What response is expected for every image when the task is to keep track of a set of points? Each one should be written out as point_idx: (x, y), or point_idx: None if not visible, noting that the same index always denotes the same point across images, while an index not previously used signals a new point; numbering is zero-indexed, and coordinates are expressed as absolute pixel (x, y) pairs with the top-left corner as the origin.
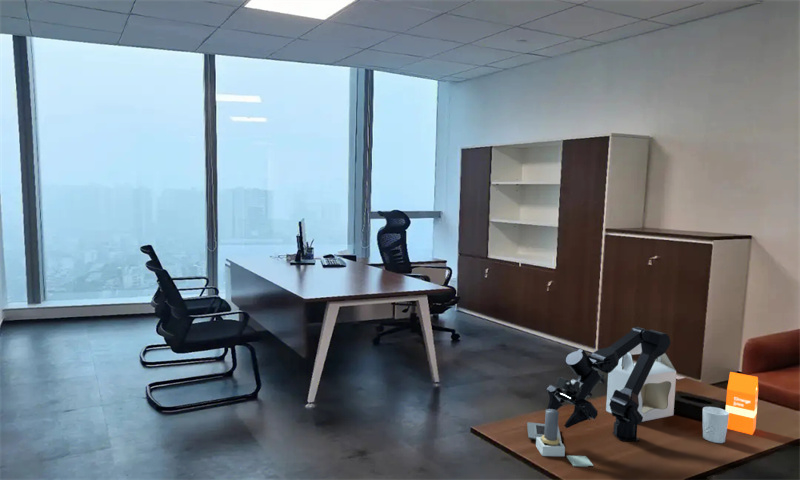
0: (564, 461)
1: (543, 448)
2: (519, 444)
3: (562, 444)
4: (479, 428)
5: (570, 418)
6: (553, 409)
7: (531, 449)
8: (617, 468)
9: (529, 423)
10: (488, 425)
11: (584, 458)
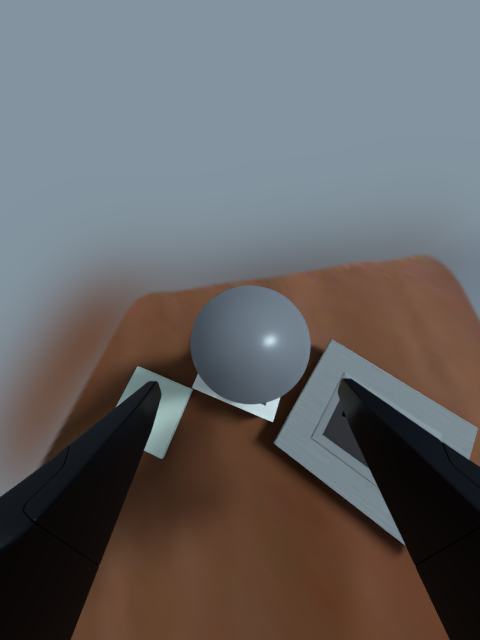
0: (175, 362)
1: None
2: (312, 306)
3: (212, 393)
4: (438, 261)
5: (95, 432)
6: (287, 385)
7: None
8: None
9: (461, 427)
10: (463, 295)
11: (149, 437)
